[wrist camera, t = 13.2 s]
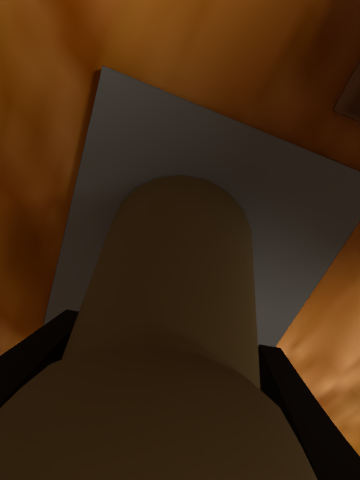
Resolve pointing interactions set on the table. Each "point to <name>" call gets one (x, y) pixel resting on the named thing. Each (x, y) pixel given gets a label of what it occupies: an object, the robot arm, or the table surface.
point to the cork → (158, 357)
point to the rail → (350, 97)
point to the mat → (219, 173)
